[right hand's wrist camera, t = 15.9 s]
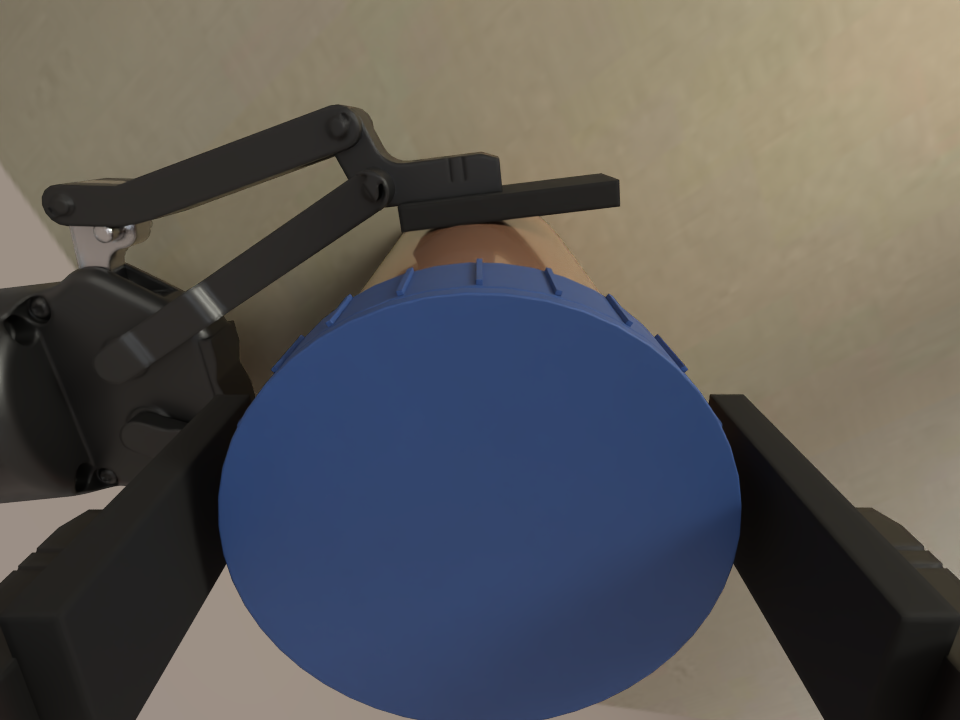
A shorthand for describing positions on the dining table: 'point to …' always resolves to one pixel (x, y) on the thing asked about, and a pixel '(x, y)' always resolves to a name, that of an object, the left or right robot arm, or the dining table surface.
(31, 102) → the dining table surface
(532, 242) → the jar
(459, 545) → the lid
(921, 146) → the dining table surface
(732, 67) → the dining table surface
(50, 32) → the dining table surface
